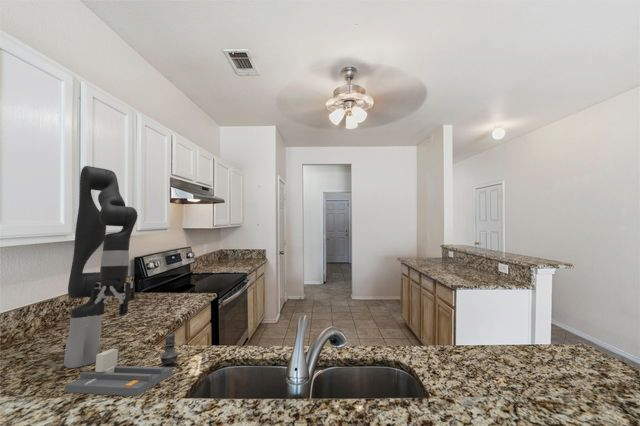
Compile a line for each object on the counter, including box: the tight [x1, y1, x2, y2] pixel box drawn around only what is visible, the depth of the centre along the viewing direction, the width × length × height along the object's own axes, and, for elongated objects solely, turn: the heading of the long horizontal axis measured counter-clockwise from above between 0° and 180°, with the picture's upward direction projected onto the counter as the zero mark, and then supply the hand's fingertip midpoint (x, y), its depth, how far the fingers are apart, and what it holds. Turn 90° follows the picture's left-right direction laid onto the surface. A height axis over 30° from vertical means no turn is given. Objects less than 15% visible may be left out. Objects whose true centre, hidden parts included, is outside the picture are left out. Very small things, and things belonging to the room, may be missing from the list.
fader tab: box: [94, 348, 119, 373], centre depth 86 cm, size 3×5×7 cm, turn 171°
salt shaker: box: [159, 329, 179, 368], centre depth 96 cm, size 6×6×12 cm
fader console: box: [64, 365, 174, 397], centre depth 84 cm, size 24×14×4 cm, turn 81°
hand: (111, 315), depth 88 cm, fingers open, 8 cm apart
